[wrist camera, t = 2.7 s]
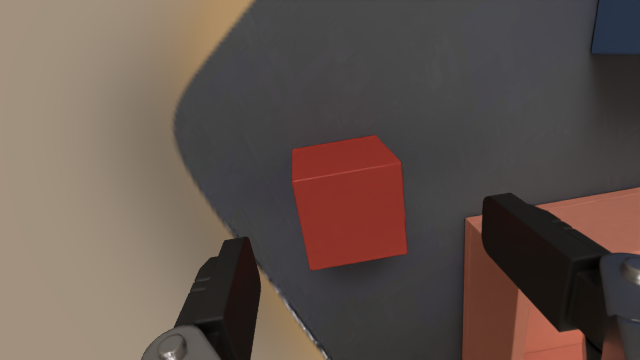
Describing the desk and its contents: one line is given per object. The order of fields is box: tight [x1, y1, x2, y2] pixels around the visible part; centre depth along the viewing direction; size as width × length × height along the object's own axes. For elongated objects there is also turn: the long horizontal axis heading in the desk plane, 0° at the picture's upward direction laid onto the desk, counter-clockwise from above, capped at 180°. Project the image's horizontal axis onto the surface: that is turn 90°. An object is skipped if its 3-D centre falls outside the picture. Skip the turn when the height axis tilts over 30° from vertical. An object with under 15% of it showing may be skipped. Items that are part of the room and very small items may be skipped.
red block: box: [292, 135, 407, 271], centre depth 14 cm, size 4×4×4 cm
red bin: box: [462, 187, 640, 360], centre depth 17 cm, size 11×11×5 cm
